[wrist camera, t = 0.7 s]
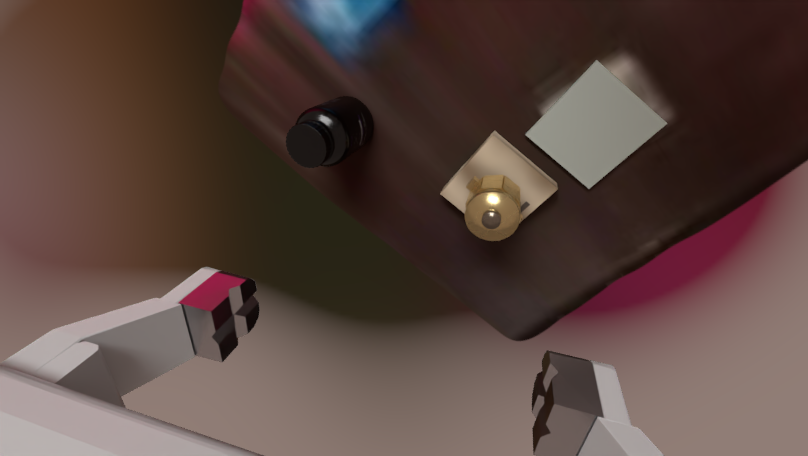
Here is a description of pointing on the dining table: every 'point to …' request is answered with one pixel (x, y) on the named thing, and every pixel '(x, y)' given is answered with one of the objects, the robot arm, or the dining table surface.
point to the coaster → (595, 125)
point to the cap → (493, 207)
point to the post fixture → (501, 160)
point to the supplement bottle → (329, 132)
